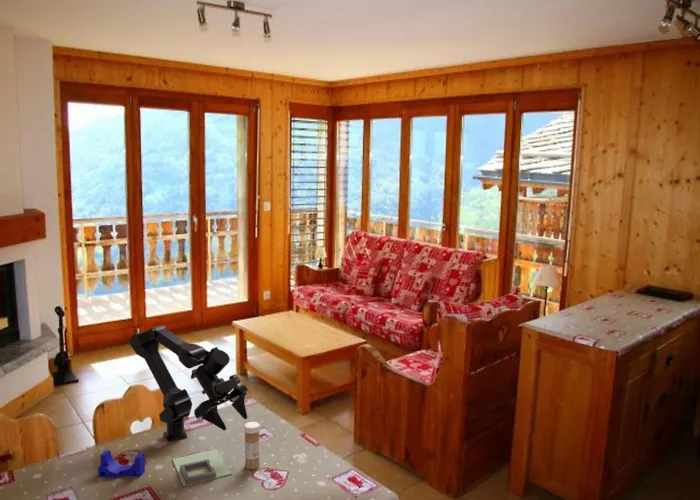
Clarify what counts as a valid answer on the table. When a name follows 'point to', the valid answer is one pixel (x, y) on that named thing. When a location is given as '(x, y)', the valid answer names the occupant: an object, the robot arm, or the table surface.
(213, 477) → the board
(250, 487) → the table surface
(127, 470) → the cable clip
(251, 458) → the sprinkles bottle
